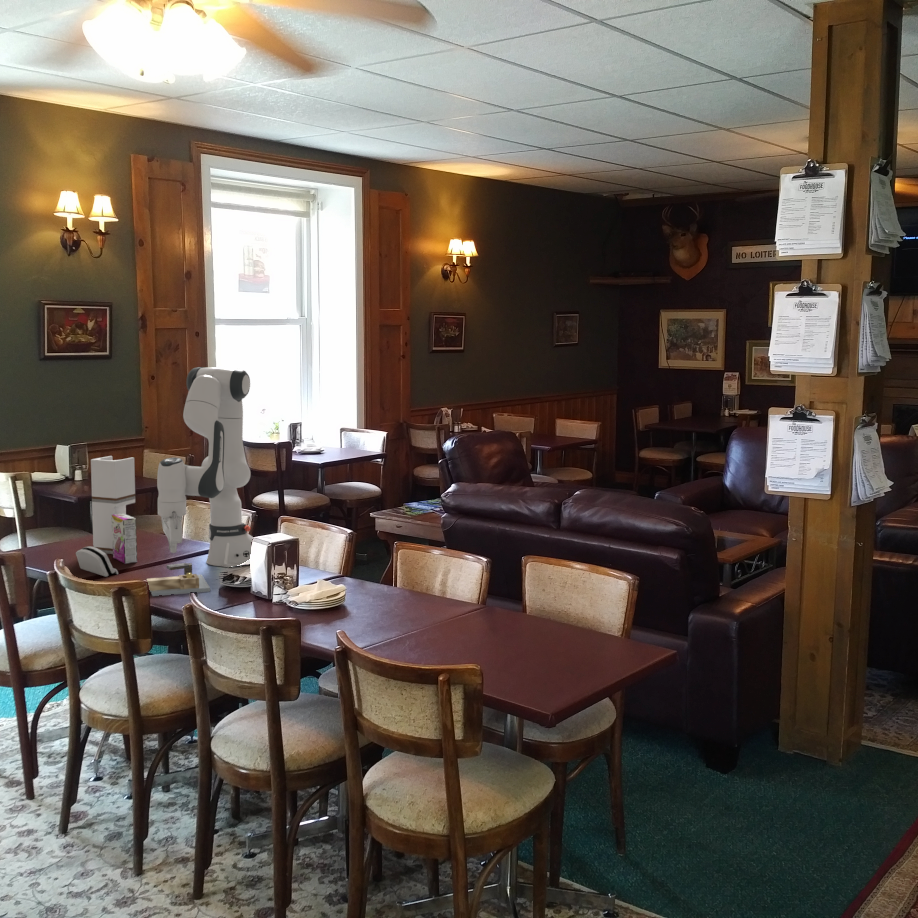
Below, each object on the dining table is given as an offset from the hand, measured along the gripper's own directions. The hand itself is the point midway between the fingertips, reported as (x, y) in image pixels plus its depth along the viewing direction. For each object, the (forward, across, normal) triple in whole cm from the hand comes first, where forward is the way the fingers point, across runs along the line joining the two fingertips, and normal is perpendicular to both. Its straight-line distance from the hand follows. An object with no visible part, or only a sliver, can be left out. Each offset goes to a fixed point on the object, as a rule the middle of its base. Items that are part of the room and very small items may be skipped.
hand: (172, 551), depth 318 cm
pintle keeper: (+13, +6, -3) cm, 15 cm away
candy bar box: (+13, +48, +11) cm, 51 cm away
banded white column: (+13, +66, +13) cm, 69 cm away
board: (+13, +5, -2) cm, 14 cm away
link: (+12, 0, 0) cm, 12 cm away
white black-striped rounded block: (+14, +34, +22) cm, 43 cm away
